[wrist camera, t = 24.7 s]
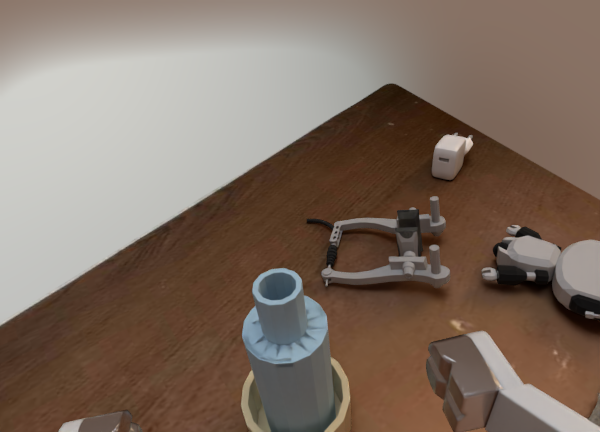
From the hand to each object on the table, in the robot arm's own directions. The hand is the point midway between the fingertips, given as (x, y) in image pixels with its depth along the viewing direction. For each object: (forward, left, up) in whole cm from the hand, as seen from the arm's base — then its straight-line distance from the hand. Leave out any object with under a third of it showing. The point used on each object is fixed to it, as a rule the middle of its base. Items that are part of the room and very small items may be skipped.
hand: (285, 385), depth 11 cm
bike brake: (+7, +33, -26) cm, 43 cm away
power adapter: (+25, +55, -26) cm, 66 cm away
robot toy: (+28, +26, -26) cm, 46 cm away
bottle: (-2, +12, -25) cm, 28 cm away
